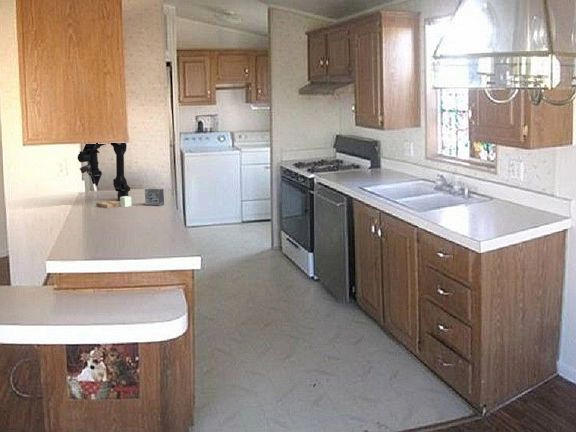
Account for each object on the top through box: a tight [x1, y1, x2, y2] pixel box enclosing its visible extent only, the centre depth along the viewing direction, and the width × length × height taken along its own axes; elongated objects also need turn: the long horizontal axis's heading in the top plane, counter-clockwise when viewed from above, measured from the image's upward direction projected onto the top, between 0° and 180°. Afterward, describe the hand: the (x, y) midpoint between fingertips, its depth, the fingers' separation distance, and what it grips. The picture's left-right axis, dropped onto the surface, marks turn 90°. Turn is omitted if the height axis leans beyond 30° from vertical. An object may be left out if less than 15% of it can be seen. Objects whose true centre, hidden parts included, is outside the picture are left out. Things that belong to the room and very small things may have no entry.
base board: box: [95, 200, 121, 209], centre depth 435 cm, size 12×12×2 cm
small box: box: [144, 188, 165, 207], centre depth 434 cm, size 11×6×10 cm, turn 71°
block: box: [119, 195, 133, 208], centre depth 434 cm, size 5×5×6 cm
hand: (95, 185), depth 434 cm, fingers open, 9 cm apart
